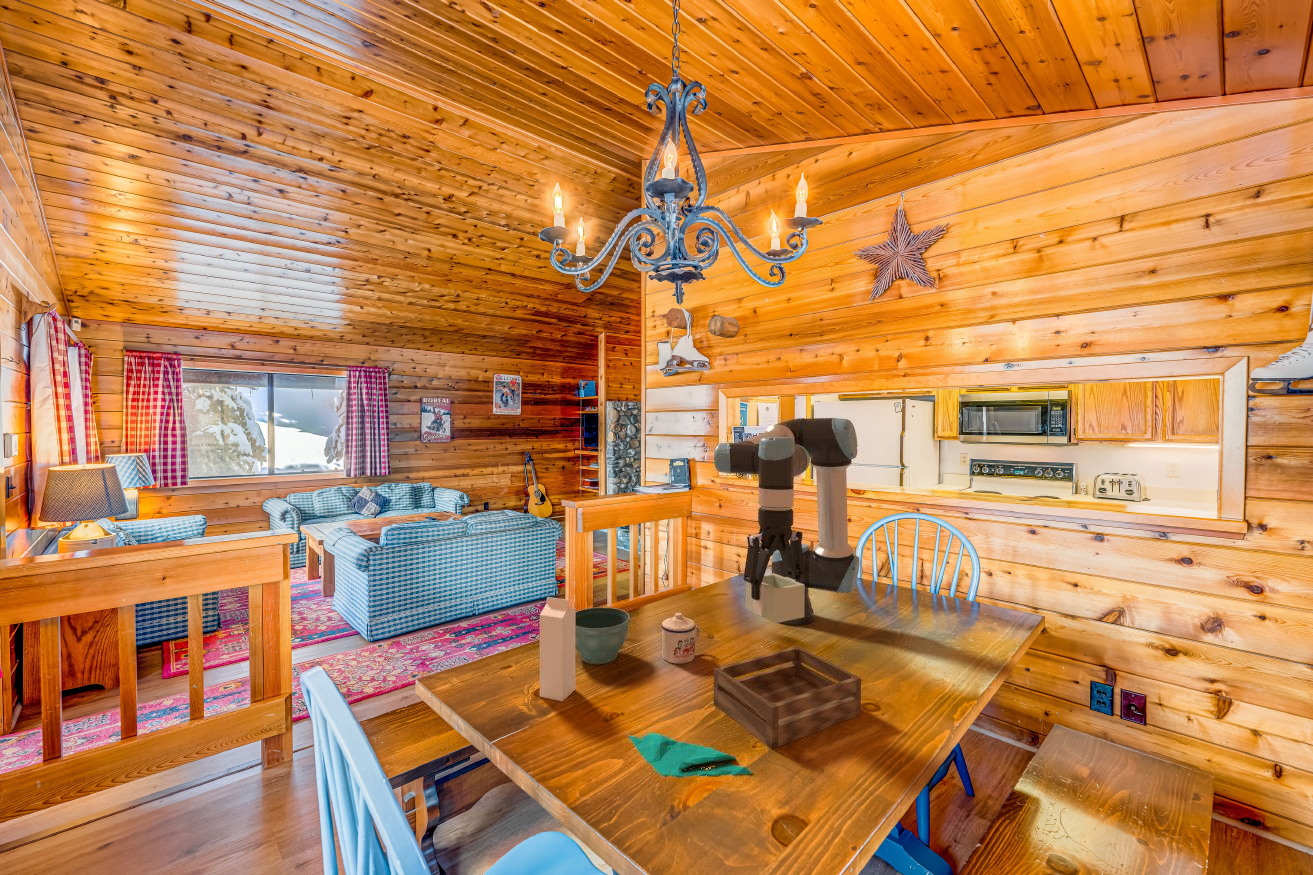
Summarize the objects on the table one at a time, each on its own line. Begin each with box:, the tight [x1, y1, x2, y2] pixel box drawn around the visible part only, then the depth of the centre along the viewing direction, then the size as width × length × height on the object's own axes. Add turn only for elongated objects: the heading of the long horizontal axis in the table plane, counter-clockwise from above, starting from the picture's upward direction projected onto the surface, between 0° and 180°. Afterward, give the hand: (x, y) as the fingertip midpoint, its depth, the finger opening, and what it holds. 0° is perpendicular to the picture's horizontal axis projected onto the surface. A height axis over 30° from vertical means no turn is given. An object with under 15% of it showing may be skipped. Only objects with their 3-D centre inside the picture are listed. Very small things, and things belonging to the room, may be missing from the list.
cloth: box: [627, 732, 755, 778], centre depth 101 cm, size 26×14×2 cm, turn 51°
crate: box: [713, 645, 862, 750], centre depth 118 cm, size 25×19×8 cm
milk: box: [539, 596, 576, 702], centre depth 124 cm, size 6×6×22 cm
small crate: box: [745, 572, 805, 624], centre depth 119 cm, size 8×10×7 cm
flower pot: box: [575, 606, 630, 665], centre depth 144 cm, size 16×16×11 cm
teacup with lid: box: [661, 612, 702, 665], centre depth 145 cm, size 12×9×12 cm
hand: (774, 610), depth 119 cm, fingers closed on small crate, 8 cm apart
